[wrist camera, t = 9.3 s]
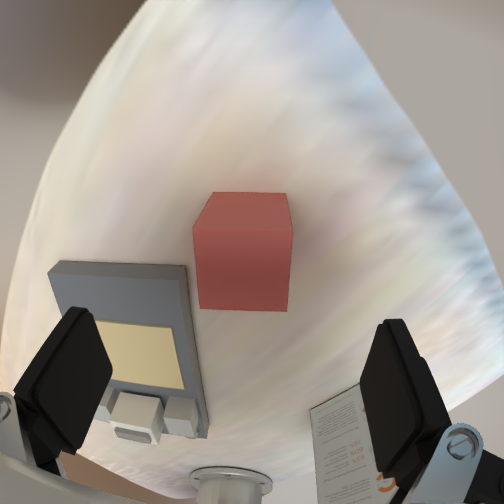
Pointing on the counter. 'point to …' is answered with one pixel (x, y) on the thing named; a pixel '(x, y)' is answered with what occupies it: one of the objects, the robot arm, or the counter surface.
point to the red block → (243, 252)
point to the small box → (346, 453)
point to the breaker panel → (141, 335)
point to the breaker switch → (138, 418)
